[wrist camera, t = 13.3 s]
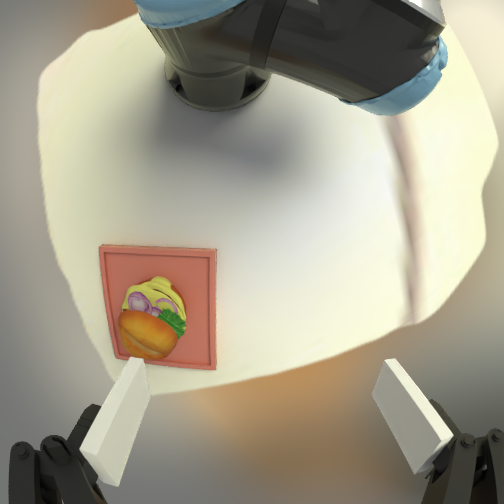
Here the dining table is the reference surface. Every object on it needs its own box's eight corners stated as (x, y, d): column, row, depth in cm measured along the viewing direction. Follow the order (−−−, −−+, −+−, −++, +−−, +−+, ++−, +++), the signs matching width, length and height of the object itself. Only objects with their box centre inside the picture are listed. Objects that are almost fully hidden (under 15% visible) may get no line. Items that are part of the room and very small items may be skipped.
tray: (103, 244, 38) (98, 246, 36) (216, 249, 39) (215, 251, 37) (118, 353, 42) (115, 358, 41) (216, 364, 43) (215, 370, 42)
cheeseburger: (199, 283, 39) (183, 331, 30) (187, 333, 43) (173, 380, 34) (134, 263, 37) (104, 304, 29) (131, 315, 42) (108, 357, 33)
